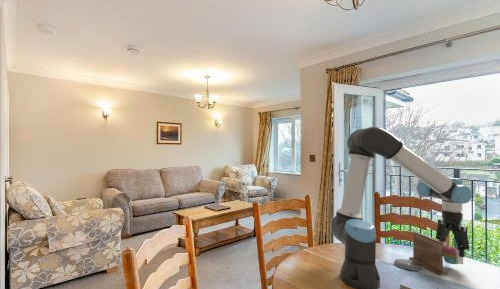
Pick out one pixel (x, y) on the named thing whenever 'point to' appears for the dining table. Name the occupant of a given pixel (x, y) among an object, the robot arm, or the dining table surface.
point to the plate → (408, 264)
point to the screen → (428, 253)
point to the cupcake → (450, 253)
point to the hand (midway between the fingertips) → (451, 259)
